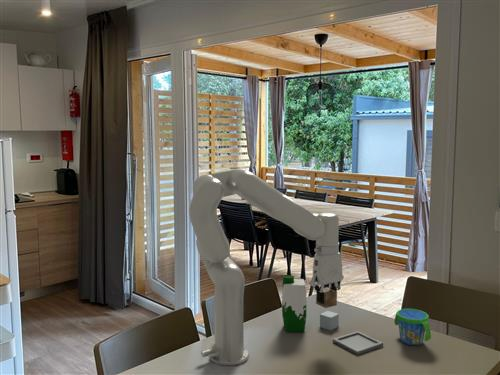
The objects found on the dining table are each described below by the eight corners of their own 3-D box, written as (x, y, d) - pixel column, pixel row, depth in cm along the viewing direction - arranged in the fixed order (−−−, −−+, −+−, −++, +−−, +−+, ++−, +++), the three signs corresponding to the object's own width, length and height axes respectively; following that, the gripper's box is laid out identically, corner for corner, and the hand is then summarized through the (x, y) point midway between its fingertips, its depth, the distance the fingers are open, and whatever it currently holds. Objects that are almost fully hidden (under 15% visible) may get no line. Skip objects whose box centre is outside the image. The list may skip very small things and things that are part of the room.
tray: (357, 355, 159) (357, 351, 159) (332, 341, 169) (332, 338, 169) (383, 346, 166) (383, 342, 165) (357, 334, 176) (357, 330, 176)
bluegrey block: (331, 330, 179) (331, 317, 179) (319, 327, 183) (320, 314, 182) (338, 326, 183) (338, 313, 182) (327, 323, 186) (327, 310, 186)
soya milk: (281, 323, 186) (281, 273, 184) (305, 323, 186) (305, 273, 184) (282, 333, 177) (282, 280, 175) (307, 333, 177) (307, 280, 175)
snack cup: (439, 349, 163) (440, 320, 162) (412, 353, 160) (413, 324, 159) (410, 331, 178) (411, 304, 177) (385, 335, 175) (386, 307, 174)
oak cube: (325, 308, 164) (325, 293, 163) (316, 303, 168) (316, 289, 167) (336, 305, 166) (337, 291, 166) (327, 301, 170) (327, 287, 170)
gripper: (315, 255, 157) (314, 309, 159) (353, 248, 166) (352, 299, 168) (300, 250, 163) (300, 302, 165) (338, 244, 172) (337, 293, 175)
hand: (326, 300), depth 167 cm, fingers closed on oak cube, 5 cm apart
